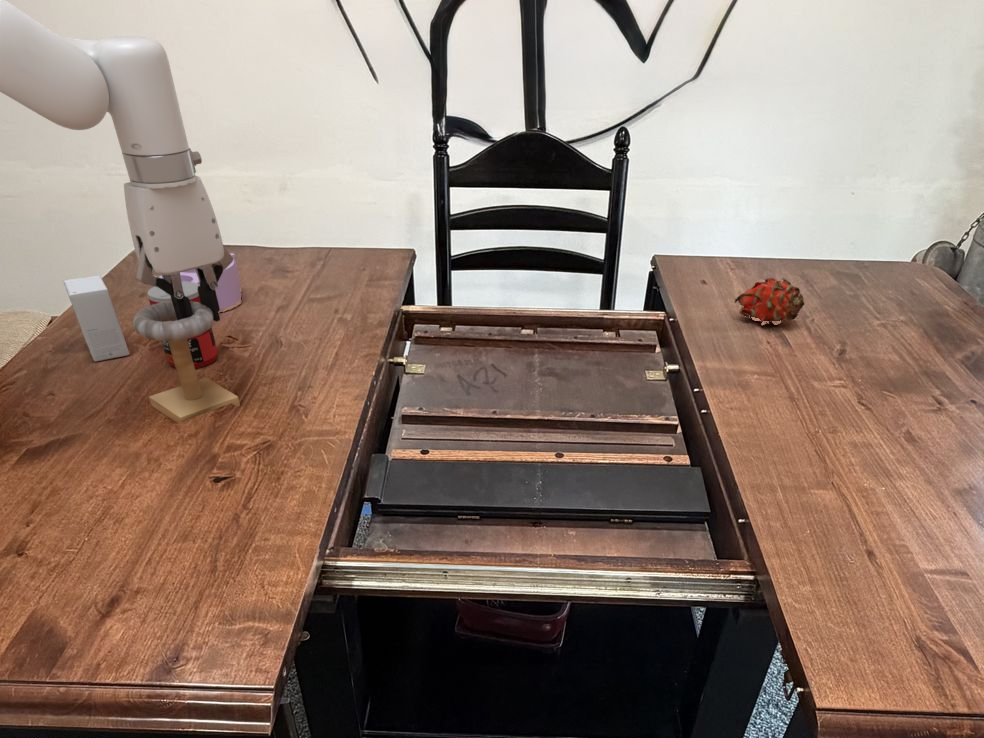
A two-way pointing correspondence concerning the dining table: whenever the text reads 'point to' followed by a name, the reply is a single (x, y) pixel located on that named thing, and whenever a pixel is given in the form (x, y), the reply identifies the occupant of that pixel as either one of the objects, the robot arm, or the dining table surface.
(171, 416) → the stand
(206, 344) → the canned food
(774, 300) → the dragon fruit
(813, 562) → the dining table surface
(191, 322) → the ring
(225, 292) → the clip
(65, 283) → the small box
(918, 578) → the dining table surface
